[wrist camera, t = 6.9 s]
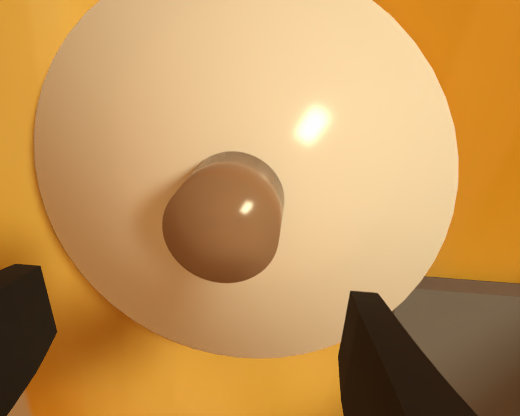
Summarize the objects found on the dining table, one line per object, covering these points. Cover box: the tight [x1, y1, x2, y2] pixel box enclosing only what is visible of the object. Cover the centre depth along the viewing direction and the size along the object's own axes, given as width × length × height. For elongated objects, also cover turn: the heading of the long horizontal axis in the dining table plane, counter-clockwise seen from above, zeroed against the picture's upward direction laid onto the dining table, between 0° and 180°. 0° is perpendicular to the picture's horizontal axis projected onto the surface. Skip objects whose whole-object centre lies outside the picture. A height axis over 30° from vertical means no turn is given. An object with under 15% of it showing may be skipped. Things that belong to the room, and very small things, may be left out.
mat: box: [392, 277, 520, 416], centre depth 21 cm, size 15×15×1 cm
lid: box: [34, 0, 458, 358], centre depth 15 cm, size 17×17×4 cm
